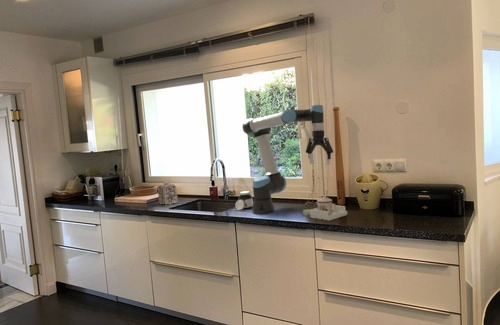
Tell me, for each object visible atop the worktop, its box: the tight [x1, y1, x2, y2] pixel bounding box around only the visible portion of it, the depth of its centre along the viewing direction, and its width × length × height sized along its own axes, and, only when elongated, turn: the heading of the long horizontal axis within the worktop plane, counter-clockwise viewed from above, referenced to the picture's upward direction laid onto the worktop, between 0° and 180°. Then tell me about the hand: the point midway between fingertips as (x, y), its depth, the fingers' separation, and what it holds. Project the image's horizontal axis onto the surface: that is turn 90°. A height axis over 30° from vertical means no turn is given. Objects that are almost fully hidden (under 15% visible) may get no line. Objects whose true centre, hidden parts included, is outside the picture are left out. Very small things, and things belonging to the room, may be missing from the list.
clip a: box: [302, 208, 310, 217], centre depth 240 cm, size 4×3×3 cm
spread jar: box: [235, 190, 254, 211], centre depth 275 cm, size 12×11×12 cm
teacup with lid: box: [316, 195, 337, 216], centre depth 233 cm, size 12×9×12 cm
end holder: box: [309, 204, 348, 222], centre depth 232 cm, size 14×17×5 cm
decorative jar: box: [157, 181, 179, 205], centre depth 319 cm, size 12×12×18 cm
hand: (319, 164), depth 240 cm, fingers open, 13 cm apart
